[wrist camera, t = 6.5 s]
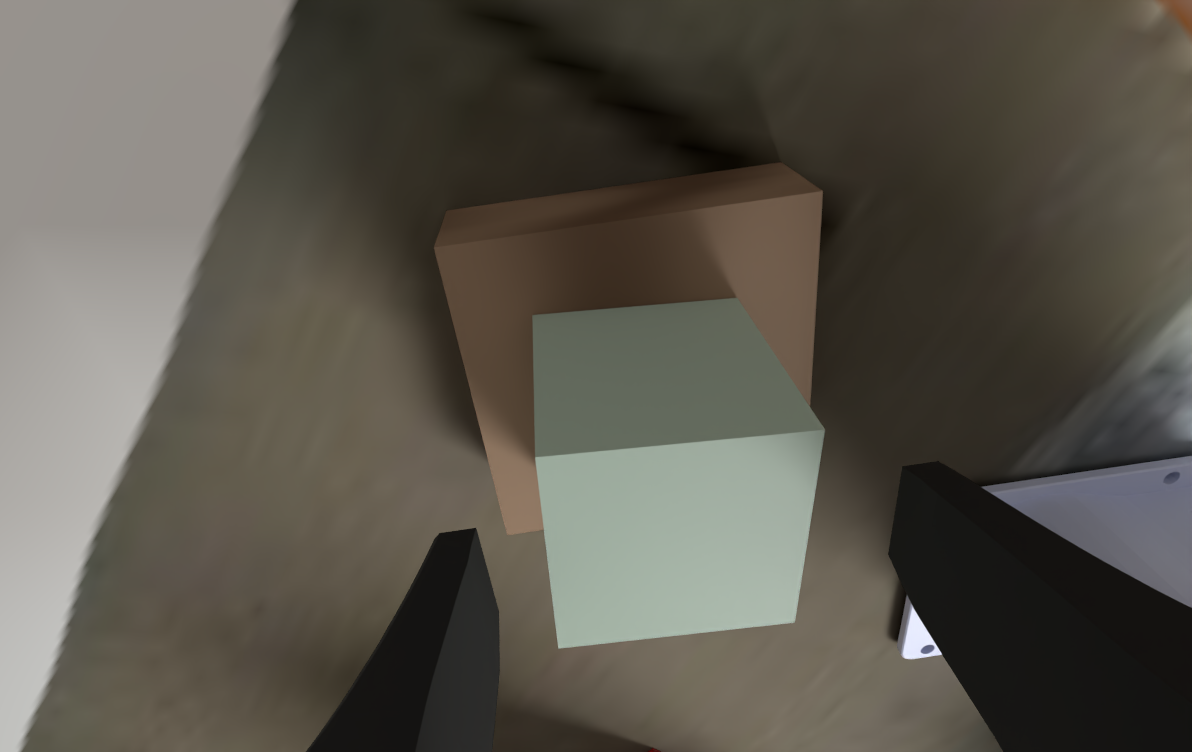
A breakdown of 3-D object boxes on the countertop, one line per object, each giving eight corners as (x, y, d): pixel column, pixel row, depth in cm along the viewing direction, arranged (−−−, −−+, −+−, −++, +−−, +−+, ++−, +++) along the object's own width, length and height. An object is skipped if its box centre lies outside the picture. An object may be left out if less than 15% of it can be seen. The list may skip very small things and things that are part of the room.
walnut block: (775, 157, 16) (823, 191, 14) (769, 425, 20) (805, 489, 18) (448, 205, 16) (433, 247, 13) (509, 464, 20) (507, 535, 18)
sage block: (737, 297, 15) (825, 430, 10) (726, 459, 17) (794, 622, 13) (532, 314, 14) (534, 457, 10) (550, 476, 17) (558, 648, 12)
